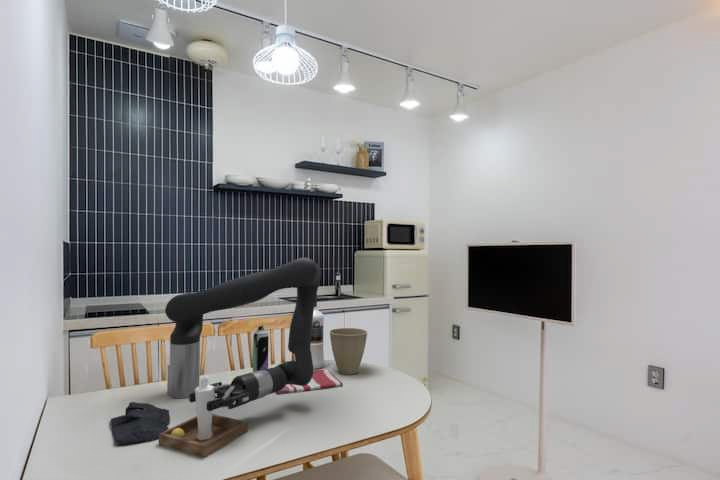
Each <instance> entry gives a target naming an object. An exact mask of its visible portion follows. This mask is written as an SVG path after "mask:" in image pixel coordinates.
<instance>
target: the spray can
mask: <svg viewBox="0 0 720 480" xmlns="http://www.w3.org/2000/svg"><path fill="white" fill-rule="evenodd" d="M252 337H253V338H252V372H255V371H261V370H266V369H269V331H267V330H266V329H265V328H264V325H260V326H258V328H257V329H256V330H255V331H253V334H252Z"/></svg>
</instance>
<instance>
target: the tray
mask: <svg viewBox="0 0 720 480" xmlns="http://www.w3.org/2000/svg"><path fill="white" fill-rule="evenodd" d="M248 424H249V423H248V421H244V420H239V419H237V418H231V417H227V416H223V415H218V414H214V413H212V427H211V429H212V433H213V435H212V437H211V438H210V439H205V440H199V439H198V438H197V435H198V420H197V415H196V416H193V417H192V418H190V419H187V420H185V421H183V422H181V423H179V424H176V425H174V426H172V427H171V428H168V430H166V431H164V432H162V433H160V434H159V439H158V445H160V446H164V447H165V448H169V449H174V450H176V451H180V452H184V453H187V454H190V455H194V456H197V457H200V458H204V459H205V458H207V457H209V456H210V455H211V454H213V453H215V452H216V451H218V450H220V449H222V448H223V447H225V446H227V445H228V444H230V443H231V442H234V441H235V440H236V439H238V438H240V437H241V436H243V435H244V434H246V433H248V426H249V425H248ZM176 428H181V429H183V431H184V438H181V437H177V436H174V435H171V432H172V431H173V430H174V429H176Z"/></svg>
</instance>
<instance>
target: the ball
mask: <svg viewBox="0 0 720 480" xmlns="http://www.w3.org/2000/svg"><path fill="white" fill-rule="evenodd" d="M171 435H174V436H177V437H181V438H184V431H183V429H181V428H176V429H174V430H173V431H172V432H171Z"/></svg>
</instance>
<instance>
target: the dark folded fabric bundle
mask: <svg viewBox="0 0 720 480" xmlns="http://www.w3.org/2000/svg"><path fill="white" fill-rule="evenodd" d="M170 424H171V416H170V410H169V409H166V408H161V407H158V406H155V405H154V404H152V403H147V402H146V403H144V402H136V401H131V402H129V403H128V405H127V406H126V408H125V414H122V415H119V416H117V417H116V416H115V417H111V418H110V427H111V431H112V434H113V437H114V441H115V443H116V444H117V445H119V446H123V445H124V446H125V445H133V444H138V443H148V442H154V441H159V434H160V433H162V432H164V431H166V430H168V429H169V425H170Z"/></svg>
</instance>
